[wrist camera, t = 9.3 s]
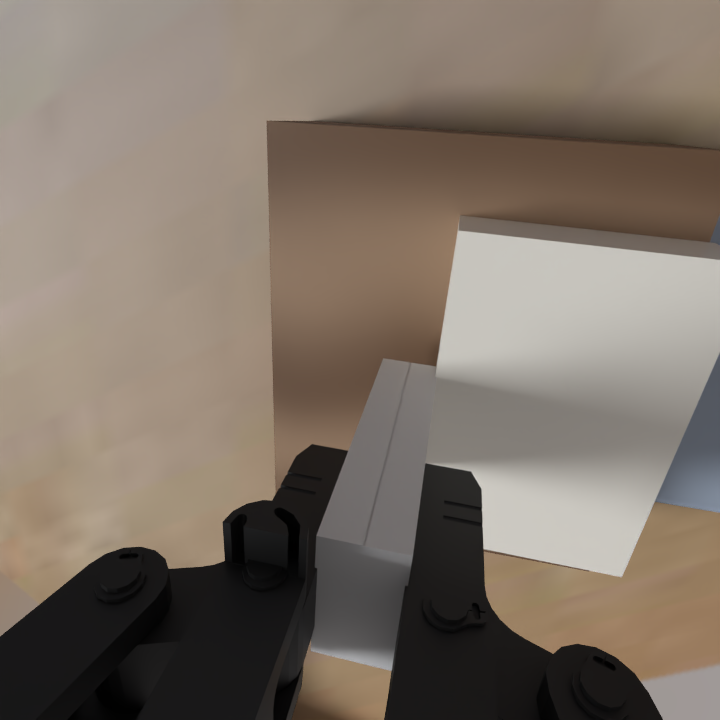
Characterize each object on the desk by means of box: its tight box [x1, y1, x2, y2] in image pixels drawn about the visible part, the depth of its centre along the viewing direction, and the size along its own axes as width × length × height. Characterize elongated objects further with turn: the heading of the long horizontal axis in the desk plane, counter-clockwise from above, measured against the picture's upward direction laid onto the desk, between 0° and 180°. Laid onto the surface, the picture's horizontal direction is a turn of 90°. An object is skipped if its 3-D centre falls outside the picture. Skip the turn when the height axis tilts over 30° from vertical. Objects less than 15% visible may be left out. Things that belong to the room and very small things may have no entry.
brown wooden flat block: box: [267, 121, 720, 571], centre depth 16 cm, size 13×11×4 cm
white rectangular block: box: [425, 215, 720, 577], centre depth 13 cm, size 9×6×2 cm, turn 176°
